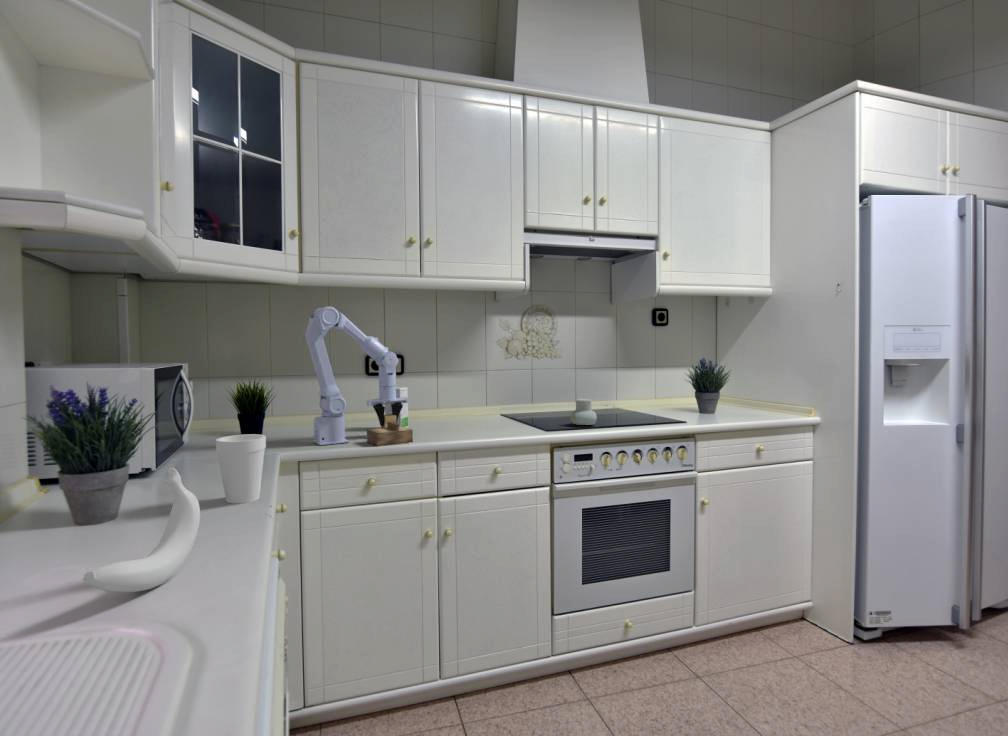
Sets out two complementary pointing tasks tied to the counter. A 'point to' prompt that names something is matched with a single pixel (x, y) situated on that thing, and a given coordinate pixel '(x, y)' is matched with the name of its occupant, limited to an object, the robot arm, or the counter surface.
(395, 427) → the lid
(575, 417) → the air freshener
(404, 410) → the skincare box
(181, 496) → the banana
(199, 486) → the counter surface
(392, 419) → the brown patterned block
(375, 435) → the brown wooden block
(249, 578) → the counter surface
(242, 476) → the foam cup
